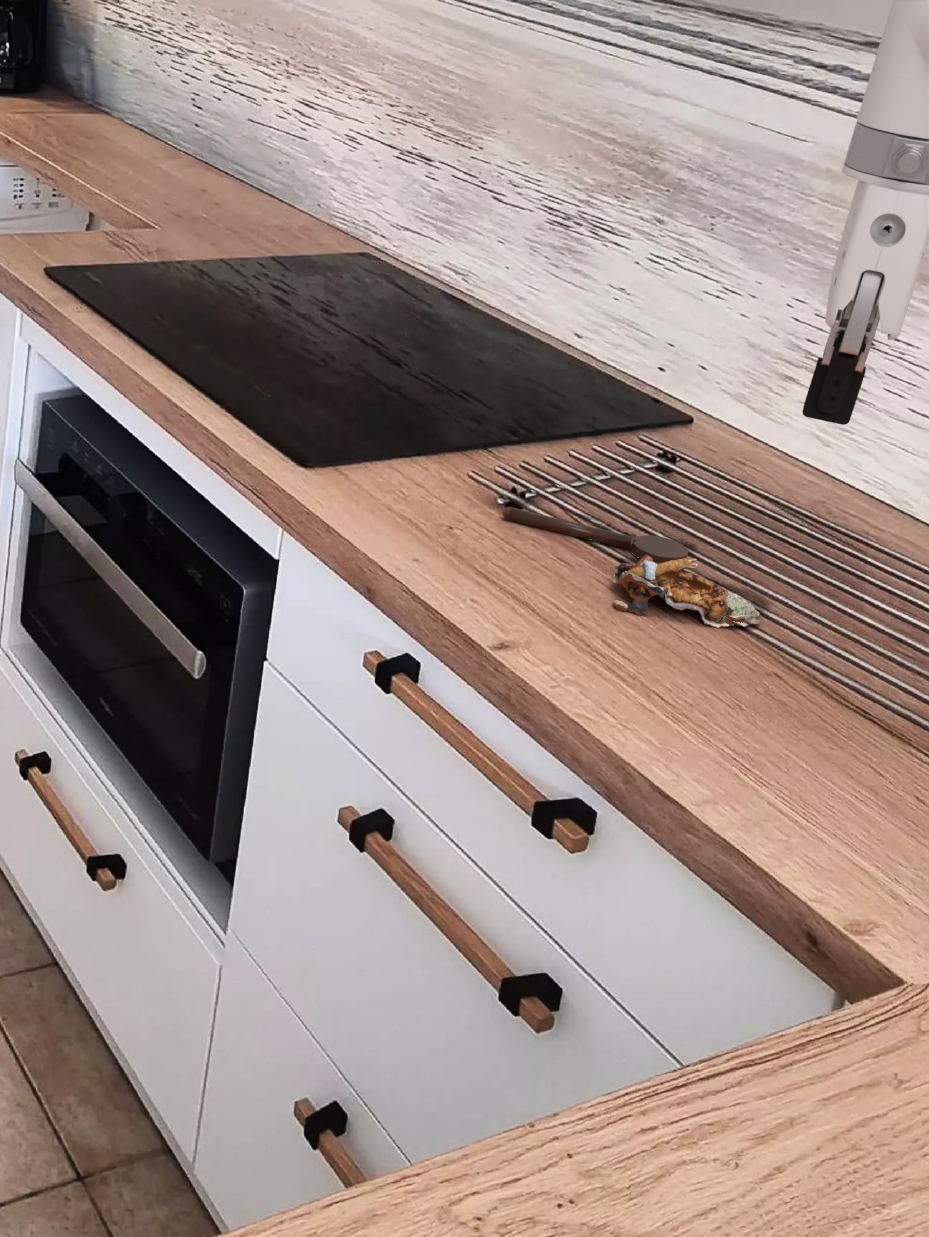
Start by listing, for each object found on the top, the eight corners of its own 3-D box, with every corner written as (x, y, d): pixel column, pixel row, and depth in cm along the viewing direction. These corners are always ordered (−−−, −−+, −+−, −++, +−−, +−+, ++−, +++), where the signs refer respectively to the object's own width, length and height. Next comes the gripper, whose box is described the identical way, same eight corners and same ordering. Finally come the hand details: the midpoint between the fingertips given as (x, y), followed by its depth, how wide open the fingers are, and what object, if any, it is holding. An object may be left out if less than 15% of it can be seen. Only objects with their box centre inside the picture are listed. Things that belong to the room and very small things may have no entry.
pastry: (763, 637, 138) (775, 597, 136) (612, 610, 139) (623, 571, 138) (751, 601, 144) (763, 563, 142) (607, 576, 146) (617, 538, 144)
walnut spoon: (688, 553, 152) (691, 541, 151) (682, 572, 148) (685, 560, 147) (506, 509, 157) (509, 497, 157) (496, 526, 153) (498, 514, 153)
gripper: (970, 187, 106) (878, 460, 114) (964, 152, 118) (881, 401, 127) (844, 166, 108) (763, 435, 117) (851, 134, 121) (777, 380, 129)
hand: (825, 417), depth 122 cm, fingers closed
